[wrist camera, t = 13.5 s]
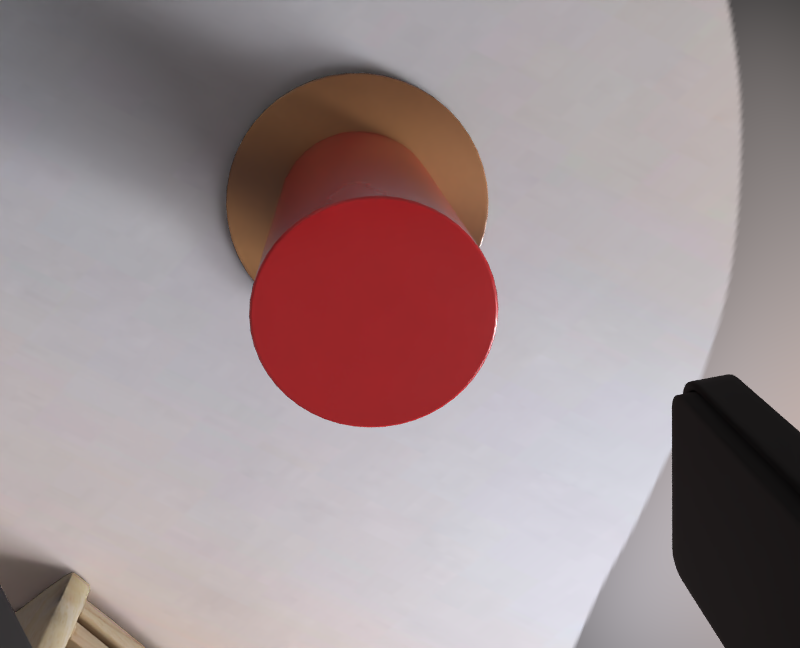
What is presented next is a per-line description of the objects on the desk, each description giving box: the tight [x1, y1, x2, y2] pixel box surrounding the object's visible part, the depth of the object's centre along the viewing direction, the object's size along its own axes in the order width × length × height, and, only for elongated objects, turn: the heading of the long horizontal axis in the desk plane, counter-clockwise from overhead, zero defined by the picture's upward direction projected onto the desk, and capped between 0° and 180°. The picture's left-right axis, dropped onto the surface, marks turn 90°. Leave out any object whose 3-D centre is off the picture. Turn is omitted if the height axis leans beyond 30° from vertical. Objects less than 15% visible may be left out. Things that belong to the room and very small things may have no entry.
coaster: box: [226, 73, 488, 281], centre depth 27 cm, size 10×10×1 cm
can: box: [249, 131, 498, 427], centre depth 22 cm, size 6×6×11 cm
